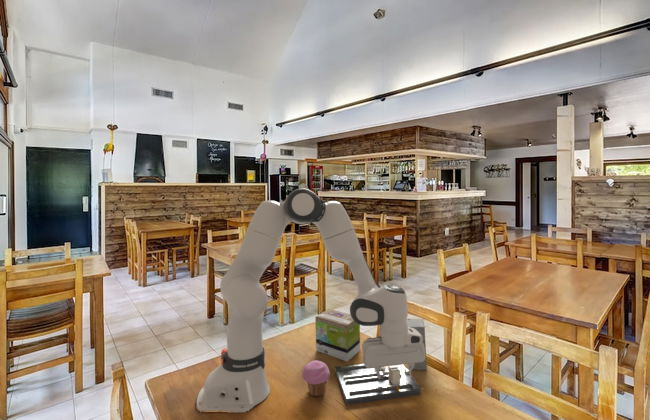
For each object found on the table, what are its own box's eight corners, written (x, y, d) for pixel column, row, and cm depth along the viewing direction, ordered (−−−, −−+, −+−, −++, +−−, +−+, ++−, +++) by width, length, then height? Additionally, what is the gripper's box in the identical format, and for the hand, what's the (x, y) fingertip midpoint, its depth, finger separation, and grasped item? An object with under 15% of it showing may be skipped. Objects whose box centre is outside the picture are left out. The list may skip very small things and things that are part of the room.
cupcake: (332, 398, 106) (332, 368, 105) (305, 403, 105) (304, 372, 104) (327, 382, 115) (326, 353, 114) (301, 386, 113) (300, 357, 112)
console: (346, 404, 103) (346, 383, 103) (335, 372, 121) (334, 353, 120) (421, 394, 107) (421, 374, 106) (399, 364, 125) (399, 346, 124)
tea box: (315, 352, 135) (314, 316, 134) (329, 341, 144) (328, 307, 142) (347, 362, 127) (347, 324, 126) (360, 351, 135) (360, 315, 134)
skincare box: (427, 371, 120) (427, 327, 118) (406, 369, 121) (406, 326, 120) (425, 358, 128) (425, 318, 127) (405, 357, 130) (405, 317, 128)
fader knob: (392, 385, 108) (392, 371, 108) (388, 378, 112) (388, 364, 112) (400, 384, 109) (400, 370, 108) (395, 377, 113) (395, 363, 112)
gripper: (365, 343, 104) (365, 386, 106) (427, 336, 108) (427, 378, 109) (359, 334, 111) (360, 374, 112) (419, 328, 114) (419, 367, 115)
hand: (394, 376), depth 110 cm, fingers open, 8 cm apart
